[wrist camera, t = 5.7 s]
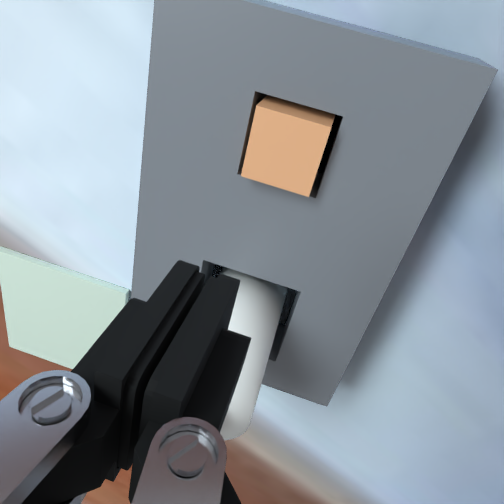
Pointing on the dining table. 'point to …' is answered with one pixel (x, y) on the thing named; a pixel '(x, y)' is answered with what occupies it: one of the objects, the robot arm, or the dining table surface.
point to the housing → (325, 184)
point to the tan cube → (286, 144)
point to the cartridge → (252, 343)
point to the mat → (55, 307)
